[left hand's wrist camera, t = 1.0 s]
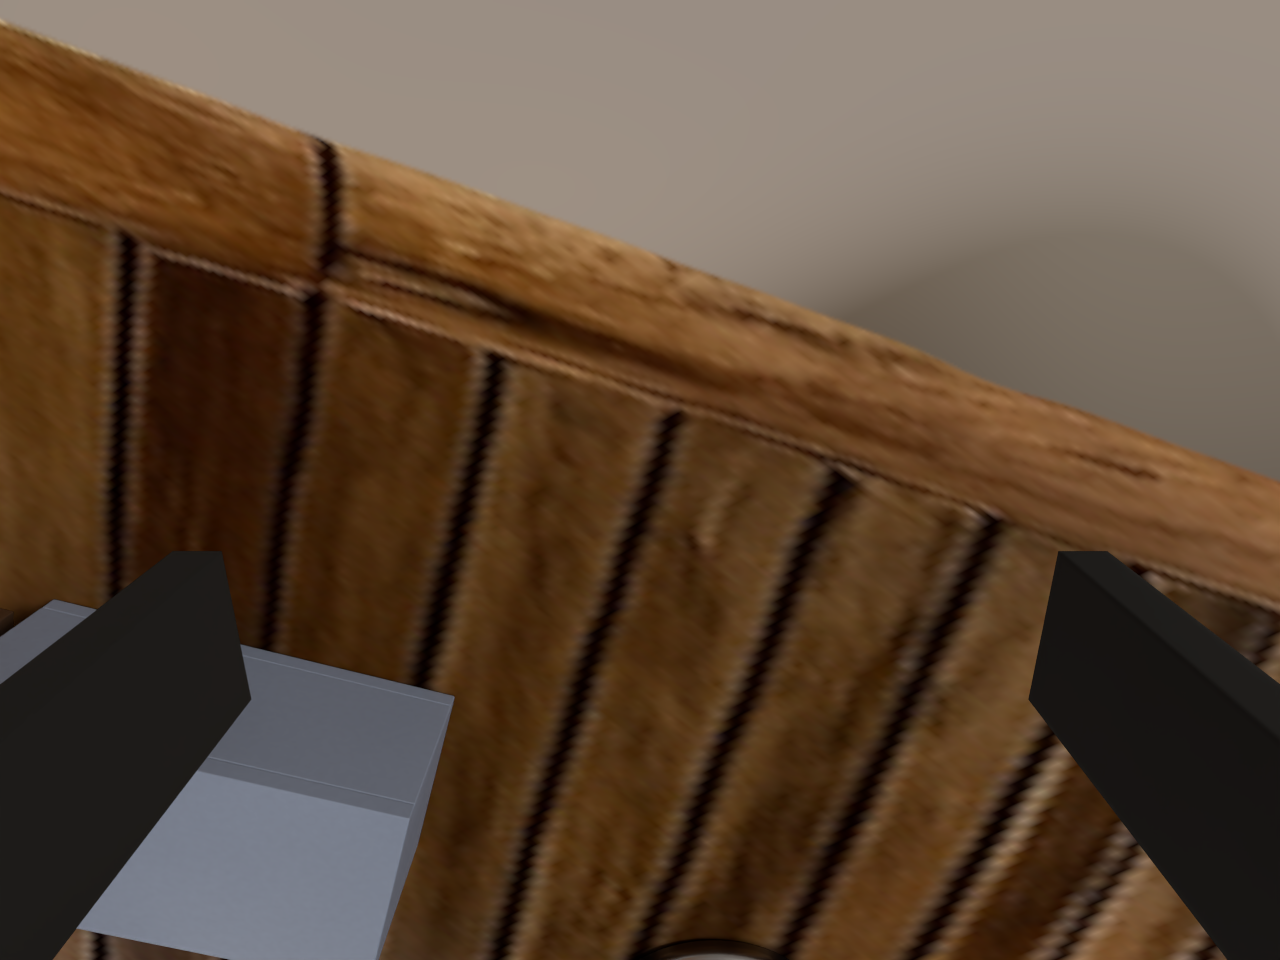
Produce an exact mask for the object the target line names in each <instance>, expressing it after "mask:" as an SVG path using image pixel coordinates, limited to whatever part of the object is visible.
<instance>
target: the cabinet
mask: <svg viewBox="0 0 1280 960" xmlns="http://www.w3.org/2000/svg"><path fill="white" fill-rule="evenodd" d="M95 611H96V609H92V608H88V607H84V606H80V605H76V604H72V603H68V602H63V601H59V600H52V601H51V602H49V603H48V604H46V605H45V606H44V607H43V608H41V609H39V610H38V611H36V612H35V613H33V614H32V615H31V616H29V617H28V618H26V619H25V620H24V621H22V622H21V623H19V624H18V625H16V626H15V627H14V628H12V629H11V630H9V631H8V632H6V633H5V634H4V635H2V636H1V637H0V684H1V683H2V682H4V681H5V680H6V679H8V678H9V677H10V676H12V675H13V674H14V673H15V672H17V671H18V670H19V669H21V668H22V667H23V666H25V665H26V664H27V663H28V662H30V661H31V660H32V659H34V658H35V657H36V656H37V655H39V654H40V653H41V652H43V651H44V650H45V649H47V648H48V647H49V646H50V645H52V644H53V643H54V642H56V641H57V640H58V639H60V638H61V637H62V636H63V635H65V634H66V633H67V632H69V631H70V630H71V629H73V628H74V627H75V626H76V625H78V624H79V623H80V622H82V621H83V620H84V619H86V618H87V617H88V616H89V615H91V614H92V613H93V612H95ZM240 645H241V644H240ZM241 650H242V655H243V660H244V665H245V670H246V675H247V680H248V685H249V689H250V694H251V701H250V702H249V703H248V705H247V706H246V707H245V709H244V710H243V711H242V713H241V714H240V715H239V716H238V718H237V719H236V720H235V722H234V723H233V724H232V726H231V727H230V728H229V730H228V731H227V732H226V733H225V735H224V736H223V737H222V739H221V740H220V741H219V743H218V744H217V745H216V747H215V748H214V749H213V750H212V752H211V753H210V754H209V756H208V757H207V758H206V760H205V761H204V762H203V764H202V765H201V766H200V767H199V769H198V770H197V771H196V773H195V774H194V775H193V777H192V778H191V779H190V781H189V782H188V783H187V784H186V786H185V787H184V788H183V790H182V791H181V792H180V794H179V795H178V796H177V798H176V799H175V800H174V801H173V803H172V804H171V805H170V807H169V808H168V809H167V811H166V812H165V813H164V815H163V816H162V817H161V818H160V820H159V821H158V822H157V824H156V825H155V826H154V828H153V829H152V830H151V832H150V833H149V834H148V835H147V837H146V838H145V839H144V841H143V842H142V843H141V845H140V846H139V847H138V849H137V850H136V851H135V852H134V854H133V855H132V856H131V858H130V859H129V860H128V862H127V863H126V864H125V866H124V867H123V868H122V869H121V871H120V872H119V873H118V875H117V876H116V877H115V879H114V880H113V881H112V883H111V884H110V885H109V886H108V888H107V889H106V890H105V892H104V893H103V894H102V896H101V897H100V898H99V900H98V901H97V902H96V903H95V905H94V906H93V907H92V909H91V910H90V911H89V913H88V914H87V915H86V917H85V918H84V919H83V920H82V922H81V923H80V924H79V926H78V927H77V928H78V929H82V930H87V931H92V932H97V933H102V934H107V935H112V936H117V937H122V938H127V939H132V940H136V941H141V942H146V943H151V944H156V945H161V946H166V947H171V948H176V949H181V950H186V951H191V952H195V953H200V954H205V955H210V956H215V957H220V958H225V959H230V960H379V957H380V954H381V951H382V948H383V945H384V942H385V939H386V936H387V933H388V930H389V927H390V925H391V922H392V919H393V916H394V913H395V910H396V907H397V904H398V901H399V898H400V895H401V892H402V889H403V886H404V883H405V880H406V878H407V875H408V872H409V869H410V866H411V863H412V860H413V857H414V854H415V851H416V848H417V845H418V841H419V837H420V833H421V829H422V825H423V821H424V817H425V814H426V810H427V806H428V802H429V798H430V794H431V790H432V786H433V782H434V778H435V774H436V770H437V766H438V762H439V758H440V754H441V750H442V746H443V742H444V738H445V734H446V730H447V726H448V722H449V718H450V714H451V710H452V706H453V702H454V696H452V695H447V694H443V693H439V692H435V691H431V690H427V689H423V688H419V687H414V686H410V685H406V684H402V683H398V682H394V681H390V680H386V679H381V678H377V677H373V676H369V675H365V674H361V673H357V672H353V671H348V670H344V669H340V668H336V667H332V666H328V665H324V664H319V663H315V662H311V661H307V660H303V659H299V658H295V657H291V656H286V655H282V654H278V653H274V652H270V651H266V650H262V649H258V648H253V647H249V646H245V645H241Z"/></svg>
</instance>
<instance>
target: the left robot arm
mask: <svg viewBox="0 0 1280 960" xmlns="http://www.w3.org/2000/svg"><path fill="white" fill-rule="evenodd" d="M250 701H251V694H250V689H249V685H248V680H247V675H246V670H245V665H244V660H243V655H242V650H241V645H240V640H239V635H238V630H237V625H236V620H235V615H234V610H233V605H232V600H231V596H230V591H229V586H228V581H227V576H226V571H225V566H224V561H223V556H222V551H172V552H171V553H170V554H169V555H167V556H166V557H165V558H163V559H162V560H161V561H160V562H158V563H157V564H156V565H154V566H153V567H152V568H150V569H149V570H148V571H147V572H145V573H144V574H143V575H141V576H140V577H139V578H137V579H136V580H135V581H134V582H132V583H131V584H130V585H128V586H127V587H126V588H124V589H123V590H122V591H121V592H119V593H118V594H117V595H115V596H114V597H113V598H111V599H110V600H109V601H108V602H106V603H105V604H104V605H102V606H101V607H100V608H98V609H97V610H96V611H95V612H93V613H92V614H91V615H89V616H88V617H87V618H86V619H84V620H83V621H82V622H80V623H79V624H78V625H76V626H75V627H74V628H73V629H71V630H70V631H69V632H67V633H66V634H65V635H63V636H62V637H61V638H60V639H58V640H57V641H56V642H54V643H53V644H52V645H50V646H49V647H48V648H47V649H45V650H44V651H43V652H41V653H40V654H39V655H37V656H36V657H35V658H34V659H32V660H31V661H30V662H28V663H27V664H26V665H25V666H23V667H22V668H21V669H19V670H18V671H17V672H15V673H14V674H13V675H12V676H10V677H9V678H8V679H6V680H5V681H4V682H2V683H1V684H0V960H53V958H54V957H55V956H56V954H57V953H58V952H59V951H60V949H61V948H62V947H63V945H64V944H65V943H66V941H67V940H68V939H69V937H70V936H71V935H72V934H73V932H74V931H75V930H76V928H77V927H78V926H79V924H80V923H81V922H82V920H83V919H84V918H85V917H86V915H87V914H88V913H89V911H90V910H91V909H92V907H93V906H94V905H95V903H96V902H97V901H98V900H99V898H100V897H101V896H102V894H103V893H104V892H105V890H106V889H107V888H108V886H109V885H110V884H111V883H112V881H113V880H114V879H115V877H116V876H117V875H118V873H119V872H120V871H121V869H122V868H123V867H124V866H125V864H126V863H127V862H128V860H129V859H130V858H131V856H132V855H133V854H134V852H135V851H136V850H137V849H138V847H139V846H140V845H141V843H142V842H143V841H144V839H145V838H146V837H147V835H148V834H149V833H150V832H151V830H152V829H153V828H154V826H155V825H156V824H157V822H158V821H159V820H160V818H161V817H162V816H163V815H164V813H165V812H166V811H167V809H168V808H169V807H170V805H171V804H172V803H173V801H174V800H175V799H176V798H177V796H178V795H179V794H180V792H181V791H182V790H183V788H184V787H185V786H186V784H187V783H188V782H189V781H190V779H191V778H192V777H193V775H194V774H195V773H196V771H197V770H198V769H199V767H200V766H201V765H202V764H203V762H204V761H205V760H206V758H207V757H208V756H209V754H210V753H211V752H212V750H213V749H214V748H215V747H216V745H217V744H218V743H219V741H220V740H221V739H222V737H223V736H224V735H225V733H226V732H227V731H228V730H229V728H230V727H231V726H232V724H233V723H234V722H235V720H236V719H237V718H238V716H239V715H240V714H241V713H242V711H243V710H244V709H245V707H246V706H247V705H248V703H249V702H250ZM1029 701H1030V702H1031V703H1032V705H1033V706H1034V707H1035V709H1036V710H1037V711H1038V713H1039V714H1040V715H1041V716H1042V718H1043V719H1044V720H1045V722H1046V723H1047V724H1048V726H1049V727H1050V728H1051V730H1052V731H1053V732H1054V733H1055V735H1056V736H1057V737H1058V739H1059V740H1060V741H1061V743H1062V744H1063V745H1064V747H1065V748H1066V749H1067V750H1068V752H1069V753H1070V754H1071V756H1072V757H1073V758H1074V760H1075V761H1076V762H1077V764H1078V765H1079V766H1080V767H1081V769H1082V770H1083V771H1084V773H1085V774H1086V775H1087V777H1088V778H1089V779H1090V781H1091V782H1092V783H1093V784H1094V786H1095V787H1096V788H1097V790H1098V791H1099V792H1100V794H1101V795H1102V796H1103V798H1104V799H1105V800H1106V801H1107V803H1108V804H1109V805H1110V807H1111V808H1112V809H1113V811H1114V812H1115V813H1116V815H1117V816H1118V817H1119V818H1120V820H1121V821H1122V822H1123V824H1124V825H1125V826H1126V828H1127V829H1128V830H1129V832H1130V833H1131V834H1132V835H1133V837H1134V838H1135V839H1136V841H1137V842H1138V843H1139V845H1140V846H1141V847H1142V849H1143V850H1144V851H1145V852H1146V854H1147V855H1148V856H1149V858H1150V859H1151V860H1152V862H1153V863H1154V864H1155V866H1156V867H1157V868H1158V869H1159V871H1160V872H1161V873H1162V875H1163V876H1164V877H1165V879H1166V880H1167V881H1168V883H1169V884H1170V885H1171V886H1172V888H1173V889H1174V890H1175V892H1176V893H1177V894H1178V896H1179V897H1180V898H1181V900H1182V901H1183V902H1184V903H1185V905H1186V906H1187V907H1188V909H1189V910H1190V911H1191V913H1192V914H1193V915H1194V917H1195V918H1196V919H1197V920H1198V922H1199V923H1200V924H1201V926H1202V927H1203V928H1204V930H1205V931H1206V932H1207V934H1208V935H1209V936H1210V937H1211V939H1212V940H1213V941H1214V943H1215V944H1216V945H1217V947H1218V948H1219V949H1220V951H1221V952H1222V953H1223V954H1224V956H1225V957H1226V958H1227V960H1280V684H1279V683H1278V682H1276V681H1275V680H1274V679H1272V678H1271V677H1270V676H1268V675H1267V674H1266V673H1265V672H1263V671H1262V670H1261V669H1259V668H1258V667H1257V666H1255V665H1254V664H1253V663H1252V662H1250V661H1249V660H1248V659H1246V658H1245V657H1244V656H1243V655H1241V654H1240V653H1239V652H1237V651H1236V650H1235V649H1233V648H1232V647H1231V646H1230V645H1228V644H1227V643H1226V642H1224V641H1223V640H1222V639H1220V638H1219V637H1218V636H1217V635H1215V634H1214V633H1213V632H1211V631H1210V630H1209V629H1207V628H1206V627H1205V626H1204V625H1202V624H1201V623H1200V622H1198V621H1197V620H1196V619H1194V618H1193V617H1192V616H1191V615H1189V614H1188V613H1187V612H1185V611H1184V610H1183V609H1182V608H1180V607H1179V606H1178V605H1176V604H1175V603H1174V602H1172V601H1171V600H1170V599H1169V598H1167V597H1166V596H1165V595H1163V594H1162V593H1161V592H1159V591H1158V590H1157V589H1156V588H1154V587H1153V586H1152V585H1150V584H1149V583H1148V582H1146V581H1145V580H1144V579H1143V578H1141V577H1140V576H1139V575H1137V574H1136V573H1135V572H1133V571H1132V570H1131V569H1130V568H1128V567H1127V566H1126V565H1124V564H1123V563H1122V562H1120V561H1119V560H1118V559H1117V558H1115V557H1114V556H1113V555H1111V554H1110V553H1109V552H1108V551H1058V556H1057V561H1056V566H1055V571H1054V576H1053V581H1052V586H1051V591H1050V596H1049V600H1048V605H1047V610H1046V615H1045V620H1044V625H1043V630H1042V635H1041V640H1040V645H1039V650H1038V655H1037V660H1036V665H1035V670H1034V675H1033V680H1032V685H1031V689H1030V694H1029ZM639 960H789V959H787V958H786V957H784V956H782V955H780V954H778V953H776V952H773V951H771V950H768V949H766V948H762V947H759V946H756V945H752V944H747V943H742V942H735V941H724V940H706V941H694V942H688V943H682V944H678V945H673V946H670V947H667V948H663V949H661V950H658V951H656V952H653V953H651V954H649V955H647V956H645V957H643V958H641V959H639Z"/></svg>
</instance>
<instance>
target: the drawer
mask: <svg viewBox="0 0 1280 960" xmlns="http://www.w3.org/2000/svg"><path fill="white" fill-rule="evenodd" d="M13 615H14V612H13V611H9V610H5V609H1V608H0V637H1V636H2V635H4V634H5V633H6V632H8V631H9V630H11V629H12V628H13Z"/></svg>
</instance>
